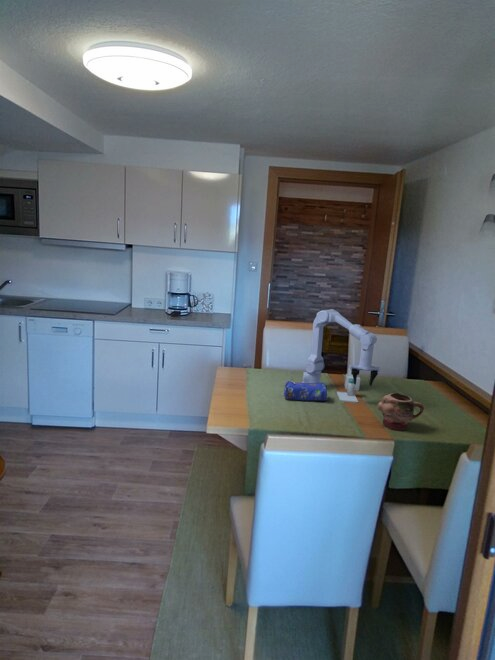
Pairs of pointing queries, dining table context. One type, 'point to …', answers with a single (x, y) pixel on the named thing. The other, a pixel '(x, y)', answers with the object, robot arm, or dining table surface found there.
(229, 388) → the dining table surface
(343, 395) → the note pad
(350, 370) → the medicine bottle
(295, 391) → the pencil case
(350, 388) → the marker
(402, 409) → the brown sculpted mug
